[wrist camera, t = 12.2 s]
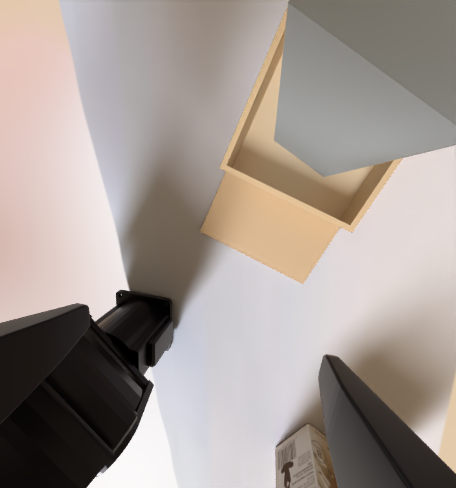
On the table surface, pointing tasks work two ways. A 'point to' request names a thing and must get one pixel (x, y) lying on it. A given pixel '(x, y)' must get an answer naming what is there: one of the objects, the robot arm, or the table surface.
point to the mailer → (283, 188)
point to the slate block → (366, 81)
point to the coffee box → (305, 461)
